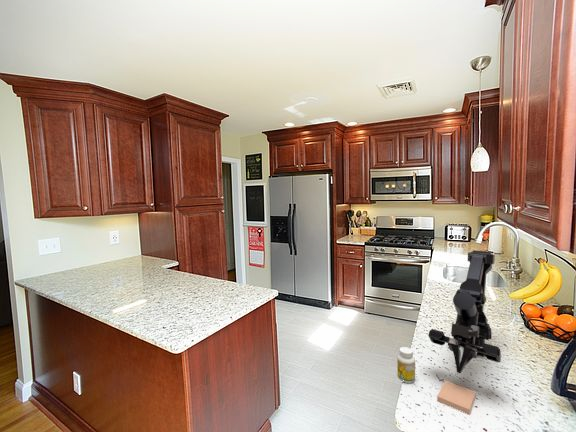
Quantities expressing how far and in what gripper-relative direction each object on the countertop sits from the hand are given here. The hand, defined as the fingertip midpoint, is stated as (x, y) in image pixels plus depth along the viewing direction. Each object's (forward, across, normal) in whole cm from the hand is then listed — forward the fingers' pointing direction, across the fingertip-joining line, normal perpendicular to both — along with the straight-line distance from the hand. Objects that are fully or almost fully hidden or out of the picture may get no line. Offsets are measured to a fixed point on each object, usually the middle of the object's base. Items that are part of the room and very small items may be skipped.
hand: (458, 372), depth 84 cm
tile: (+3, 0, +6) cm, 7 cm away
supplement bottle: (+7, -14, +3) cm, 16 cm away
